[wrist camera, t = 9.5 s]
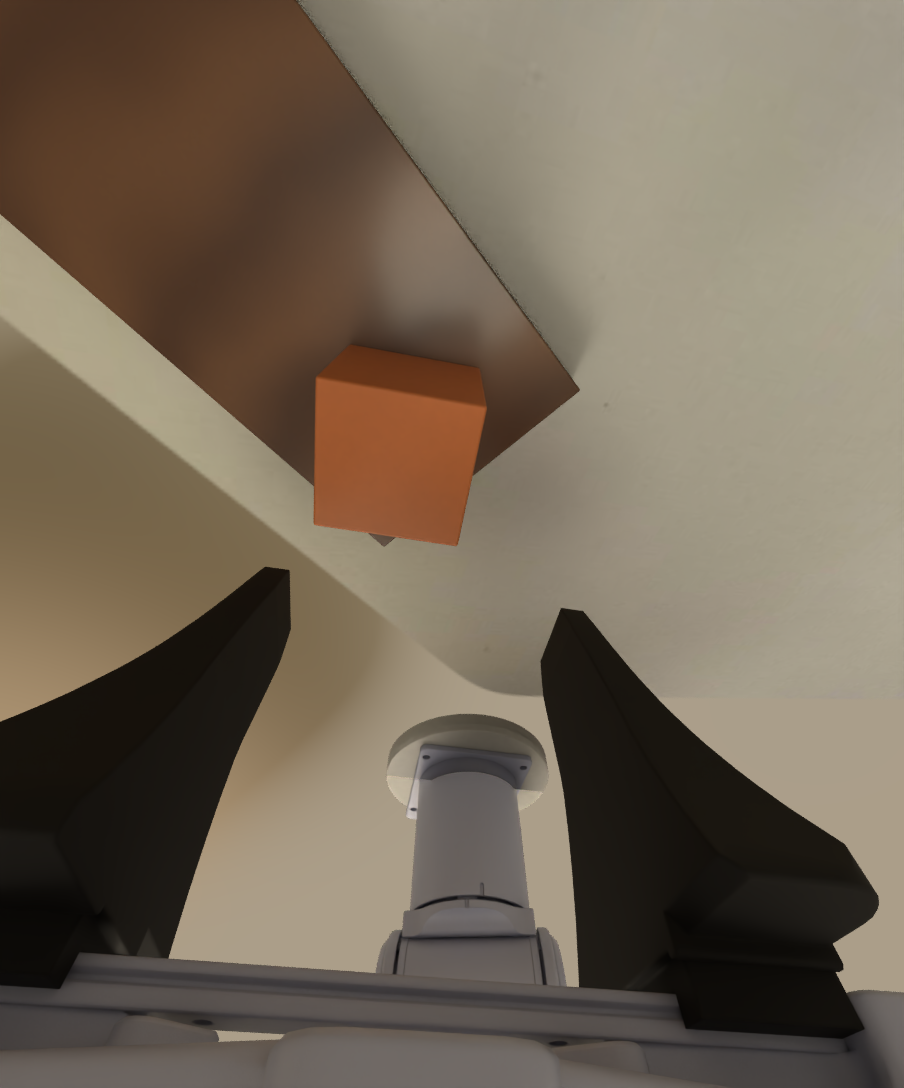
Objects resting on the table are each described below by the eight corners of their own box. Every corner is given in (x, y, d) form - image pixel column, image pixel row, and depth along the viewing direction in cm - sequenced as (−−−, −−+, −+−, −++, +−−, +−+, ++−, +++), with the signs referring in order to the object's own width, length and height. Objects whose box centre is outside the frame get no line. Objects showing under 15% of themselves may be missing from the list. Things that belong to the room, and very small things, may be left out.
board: (571, 379, 18) (580, 390, 16) (387, 529, 21) (383, 547, 20) (30, -363, 10) (-34, -453, 8) (-115, 80, 13) (-175, 63, 12)
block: (457, 484, 18) (457, 547, 15) (342, 466, 18) (312, 525, 14) (480, 367, 16) (487, 406, 12) (349, 343, 16) (315, 376, 12)
